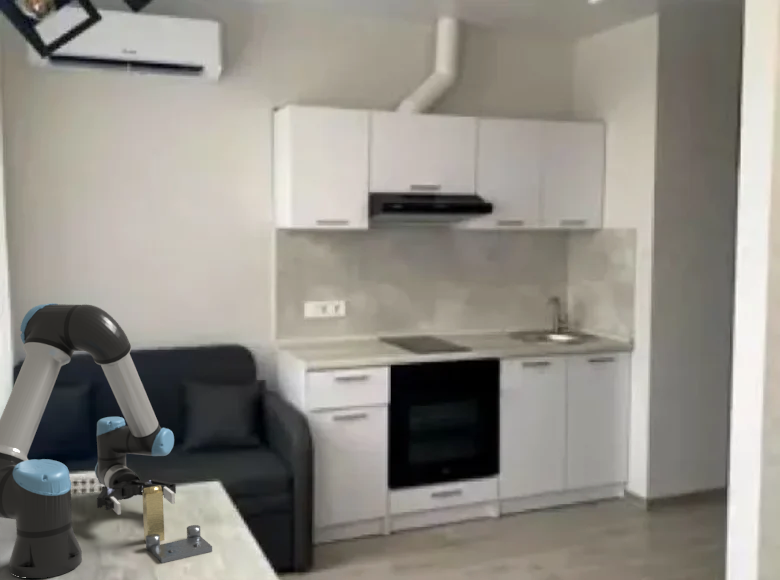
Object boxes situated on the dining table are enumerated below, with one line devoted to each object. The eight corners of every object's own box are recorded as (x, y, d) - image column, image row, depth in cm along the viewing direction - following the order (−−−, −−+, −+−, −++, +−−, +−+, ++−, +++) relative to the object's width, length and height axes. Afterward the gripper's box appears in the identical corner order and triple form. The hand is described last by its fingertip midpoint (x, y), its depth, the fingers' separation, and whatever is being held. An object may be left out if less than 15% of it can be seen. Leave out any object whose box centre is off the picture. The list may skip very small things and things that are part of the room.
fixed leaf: (159, 563, 192) (158, 550, 192) (144, 547, 201) (143, 535, 201) (214, 550, 199) (214, 538, 199) (197, 536, 209) (197, 524, 208)
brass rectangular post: (148, 543, 204) (146, 489, 203) (144, 539, 207) (142, 486, 206) (164, 539, 206) (162, 486, 205) (160, 536, 209) (158, 483, 208)
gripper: (168, 487, 237) (195, 508, 219) (75, 504, 223) (96, 528, 206) (167, 460, 236) (194, 480, 219) (73, 476, 223) (94, 498, 205)
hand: (146, 503), depth 212 cm, fingers open, 13 cm apart
